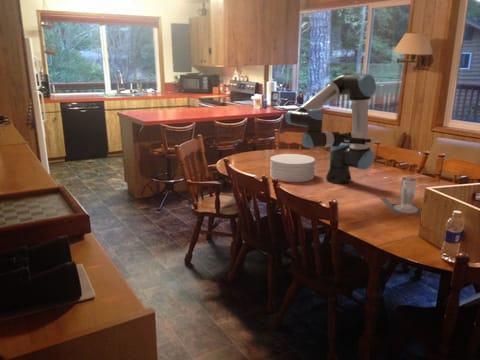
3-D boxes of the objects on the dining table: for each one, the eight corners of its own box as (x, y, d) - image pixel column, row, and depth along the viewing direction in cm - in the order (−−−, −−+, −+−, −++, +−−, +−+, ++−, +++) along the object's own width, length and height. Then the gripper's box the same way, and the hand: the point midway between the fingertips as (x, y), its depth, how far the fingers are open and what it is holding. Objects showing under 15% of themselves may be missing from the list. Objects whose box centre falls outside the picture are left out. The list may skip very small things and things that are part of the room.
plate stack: (313, 183, 251) (314, 164, 248) (267, 180, 257) (267, 162, 254) (314, 171, 278) (315, 154, 275) (272, 169, 283) (273, 153, 280)
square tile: (391, 205, 212) (391, 203, 212) (385, 198, 221) (385, 197, 221) (411, 205, 211) (411, 203, 211) (404, 199, 221) (404, 197, 221)
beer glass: (409, 205, 208) (413, 177, 204) (416, 210, 202) (419, 181, 197) (396, 206, 208) (399, 177, 204) (402, 210, 201) (405, 181, 197)
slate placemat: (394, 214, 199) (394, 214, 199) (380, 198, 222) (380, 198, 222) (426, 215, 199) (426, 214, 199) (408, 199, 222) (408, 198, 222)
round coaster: (398, 213, 200) (398, 211, 200) (390, 205, 211) (391, 204, 211) (421, 213, 200) (421, 212, 200) (412, 206, 210) (413, 204, 210)
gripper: (321, 142, 228) (356, 140, 232) (341, 151, 204) (380, 149, 209) (322, 128, 226) (357, 127, 230) (342, 136, 202) (382, 134, 207)
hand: (368, 137), depth 220 cm, fingers open, 13 cm apart
